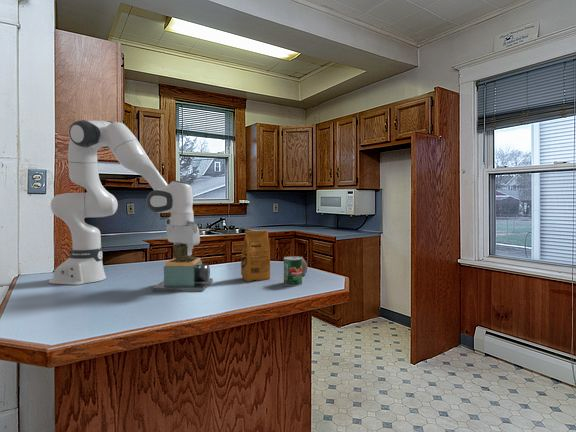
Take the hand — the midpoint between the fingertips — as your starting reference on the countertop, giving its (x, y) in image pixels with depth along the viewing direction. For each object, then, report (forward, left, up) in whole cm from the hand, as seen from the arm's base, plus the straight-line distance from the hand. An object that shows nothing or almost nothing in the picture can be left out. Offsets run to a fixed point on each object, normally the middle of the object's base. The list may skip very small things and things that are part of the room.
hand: (183, 254), depth 147 cm
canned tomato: (+45, +5, -14) cm, 47 cm away
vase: (+48, +21, -14) cm, 54 cm away
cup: (0, 0, -4) cm, 4 cm away
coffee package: (+28, +14, -14) cm, 34 cm away
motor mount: (0, 0, -13) cm, 13 cm away
